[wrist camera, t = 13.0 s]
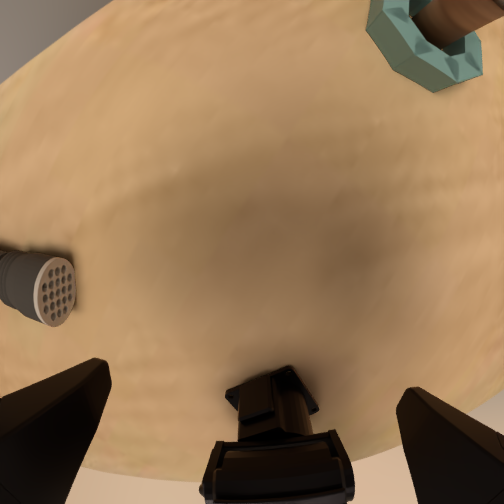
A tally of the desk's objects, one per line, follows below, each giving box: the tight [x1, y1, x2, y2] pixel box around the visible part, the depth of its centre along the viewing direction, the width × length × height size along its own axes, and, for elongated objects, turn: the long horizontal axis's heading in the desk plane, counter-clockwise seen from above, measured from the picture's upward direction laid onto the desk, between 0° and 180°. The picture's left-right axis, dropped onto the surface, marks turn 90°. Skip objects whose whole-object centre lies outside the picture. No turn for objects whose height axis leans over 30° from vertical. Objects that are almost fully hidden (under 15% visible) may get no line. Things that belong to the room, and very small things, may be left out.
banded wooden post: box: [411, 0, 504, 50], centre depth 8 cm, size 4×4×13 cm
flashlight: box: [0, 250, 76, 327], centre depth 17 cm, size 15×5×5 cm, turn 82°
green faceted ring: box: [366, 0, 483, 93], centre depth 13 cm, size 10×10×4 cm
